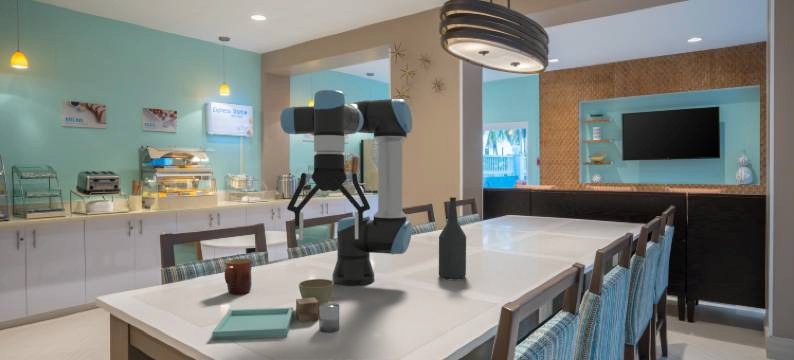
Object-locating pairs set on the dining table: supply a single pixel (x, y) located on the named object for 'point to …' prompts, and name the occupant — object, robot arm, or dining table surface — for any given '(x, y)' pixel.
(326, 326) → the grey tin
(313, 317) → the walnut block
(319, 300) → the flower pot
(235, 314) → the tray
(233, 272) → the mug
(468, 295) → the dining table surface
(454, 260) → the bottle
